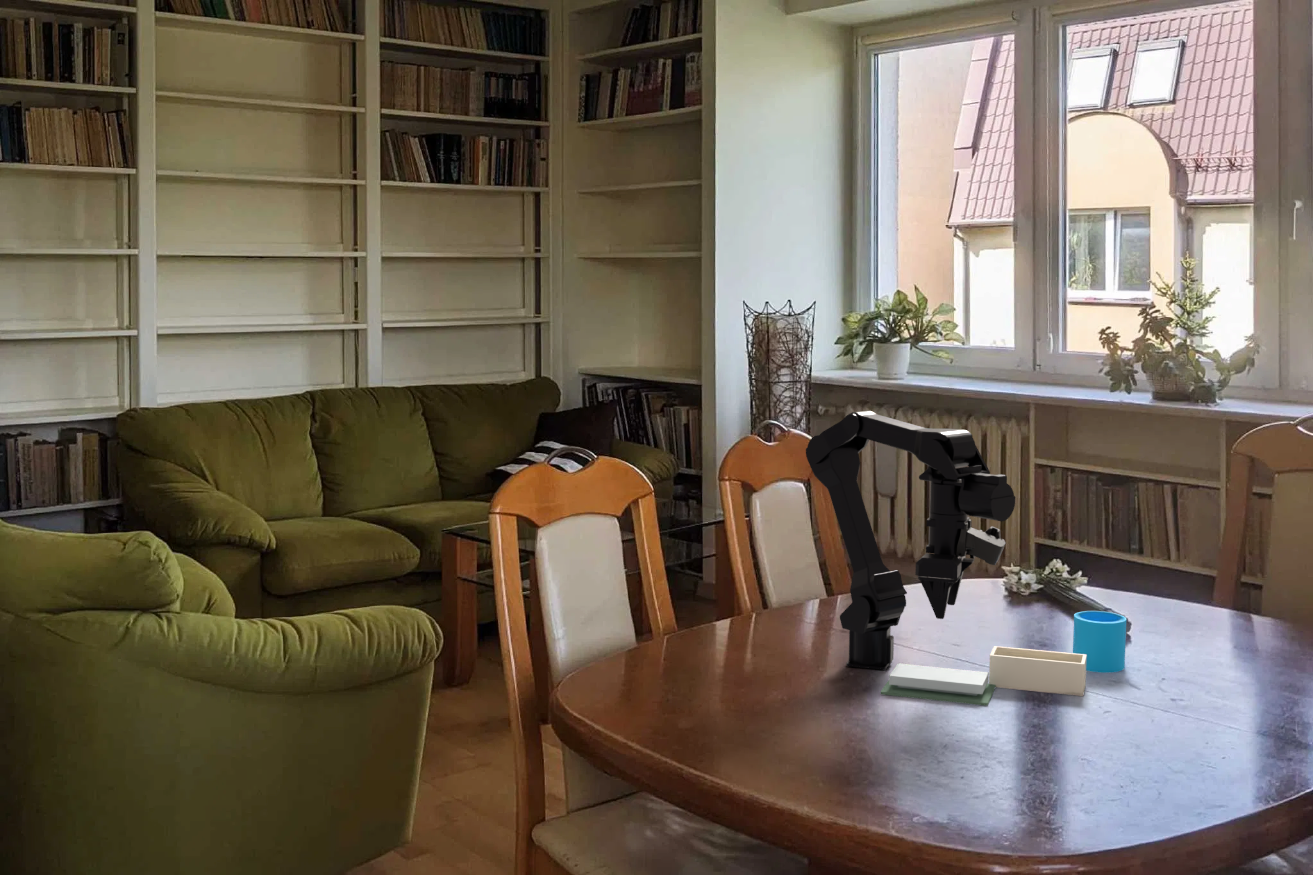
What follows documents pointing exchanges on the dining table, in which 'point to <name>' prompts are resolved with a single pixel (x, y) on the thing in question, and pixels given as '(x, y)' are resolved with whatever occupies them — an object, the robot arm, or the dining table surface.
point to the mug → (1100, 640)
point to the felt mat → (940, 694)
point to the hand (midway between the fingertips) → (945, 611)
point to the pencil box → (1038, 670)
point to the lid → (939, 679)
